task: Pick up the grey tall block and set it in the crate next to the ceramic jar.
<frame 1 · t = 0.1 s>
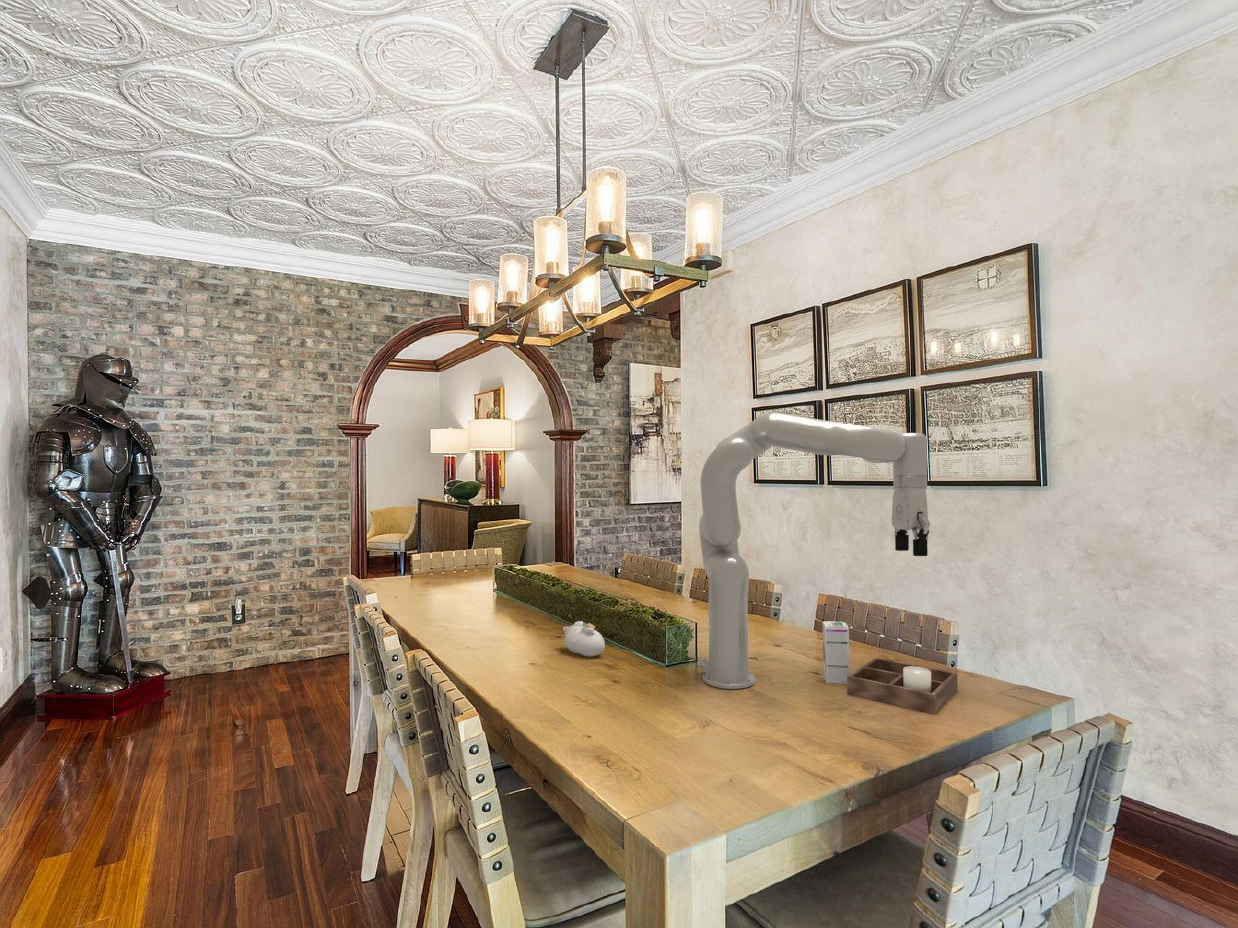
hand: (910, 553, 156), 31 cm above the table, tool pointing down, fingers open, 9 cm apart
crate: (902, 696, 145), on the table
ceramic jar: (917, 702, 139), point 1 cm above the table, touching crate
grey tall block: (836, 684, 154), on the table
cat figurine: (583, 654, 181), on the table
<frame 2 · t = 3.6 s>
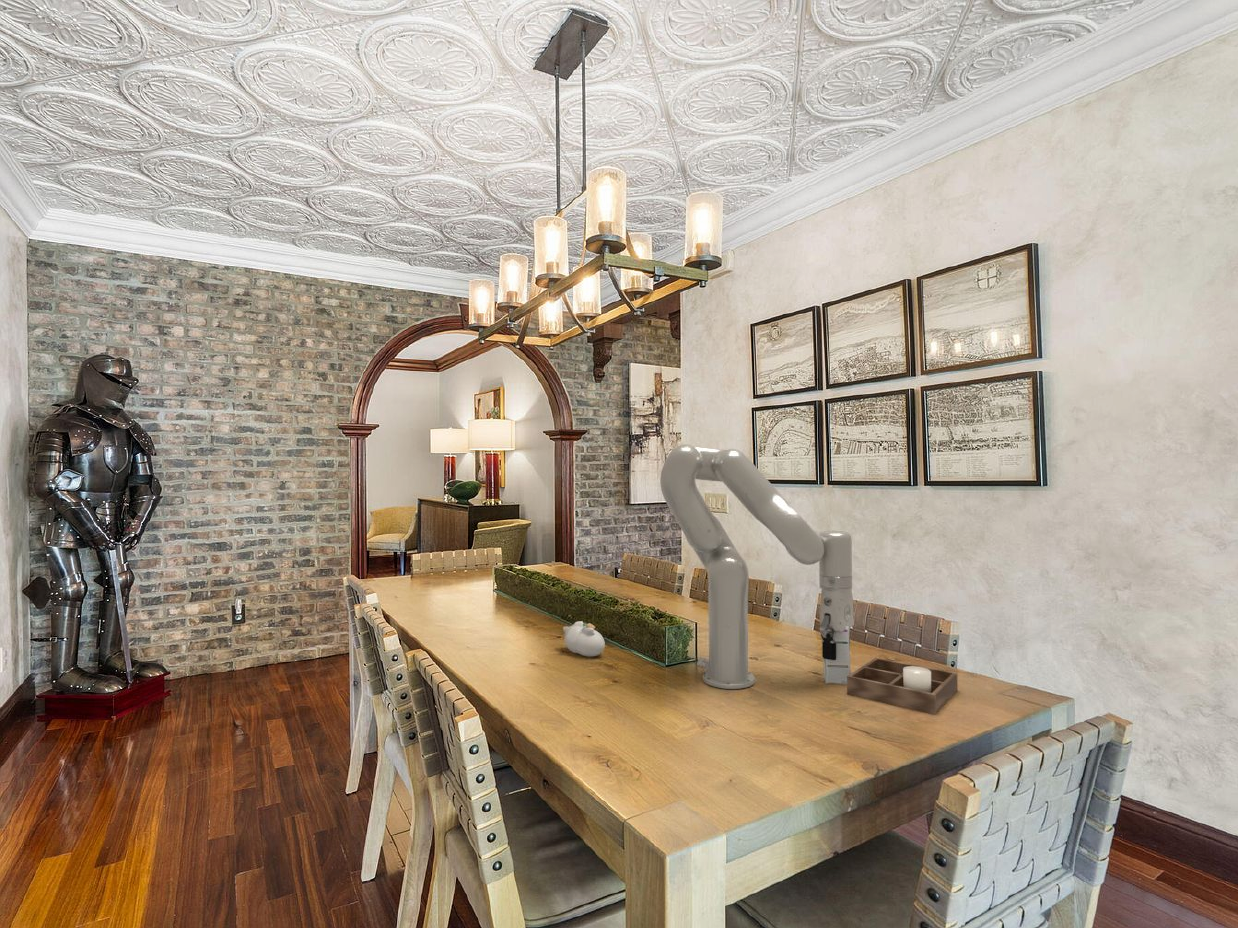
hand: (836, 654, 154), 7 cm above the table, tool pointing down, fingers closed on grey tall block, 7 cm apart
grey tall block: (836, 684, 154), on the table, touching gripper
everything else where it was.
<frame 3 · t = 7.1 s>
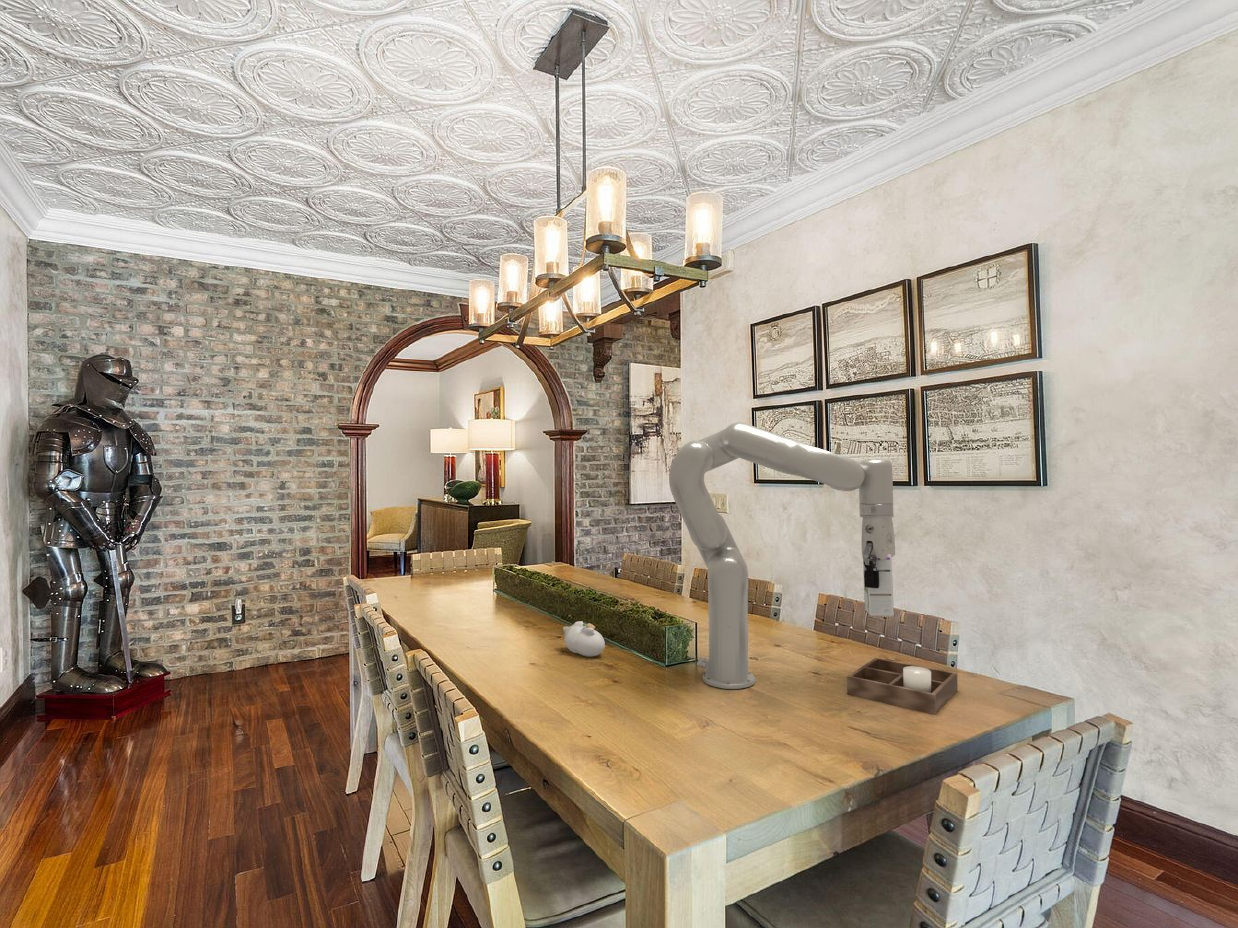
hand: (878, 584, 152), 24 cm above the table, tool pointing down, fingers closed on grey tall block, 7 cm apart
grey tall block: (878, 614, 152), point 17 cm above the table, touching gripper
everything else where it was.
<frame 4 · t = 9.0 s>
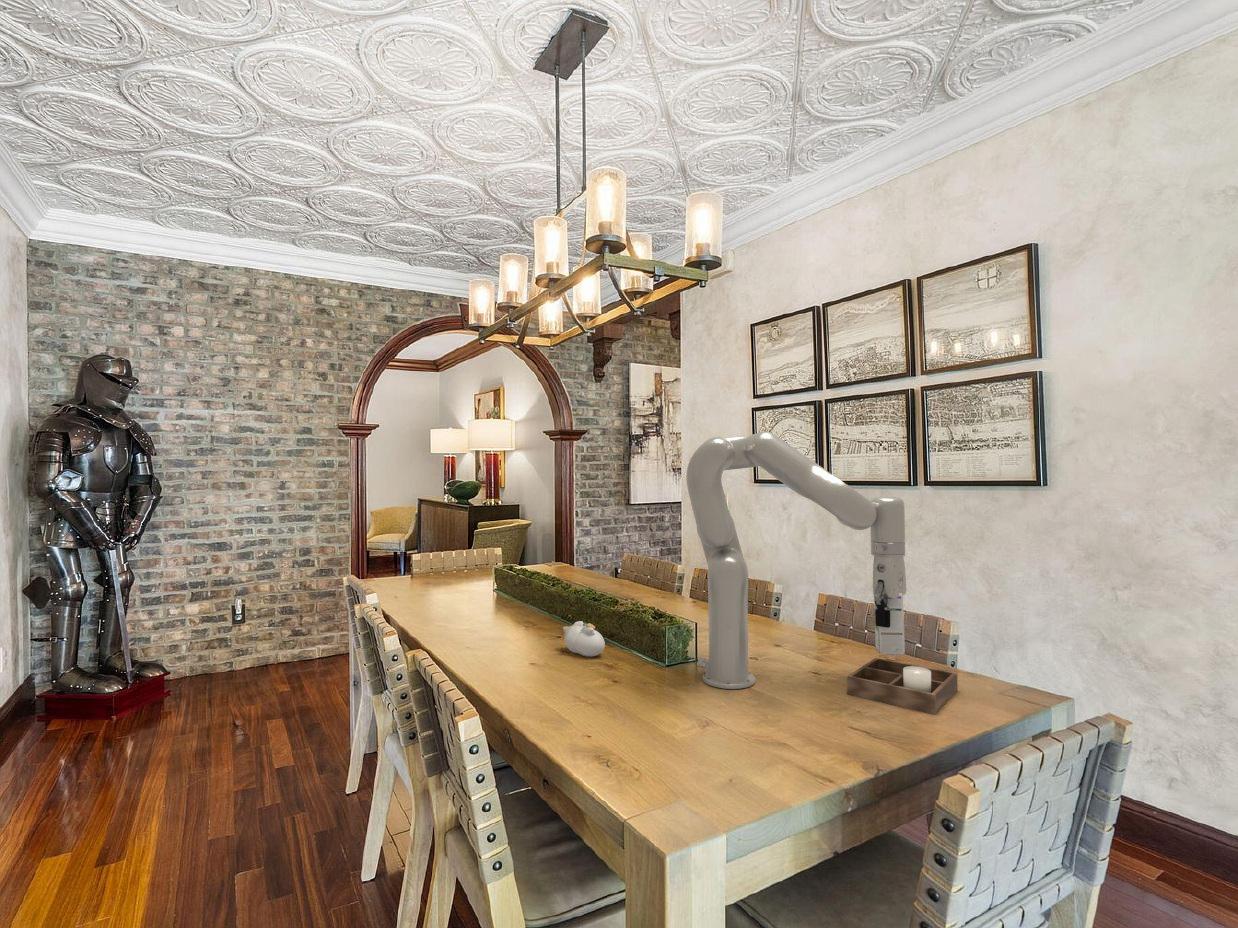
hand: (889, 622, 151), 15 cm above the table, tool pointing down, fingers closed on grey tall block, 7 cm apart
grey tall block: (889, 652, 151), point 8 cm above the table, touching gripper
everything else where it was.
when the fingers open (9 cm above the table, at t = 10.7 s): grey tall block drops 1 cm, resting on crate.
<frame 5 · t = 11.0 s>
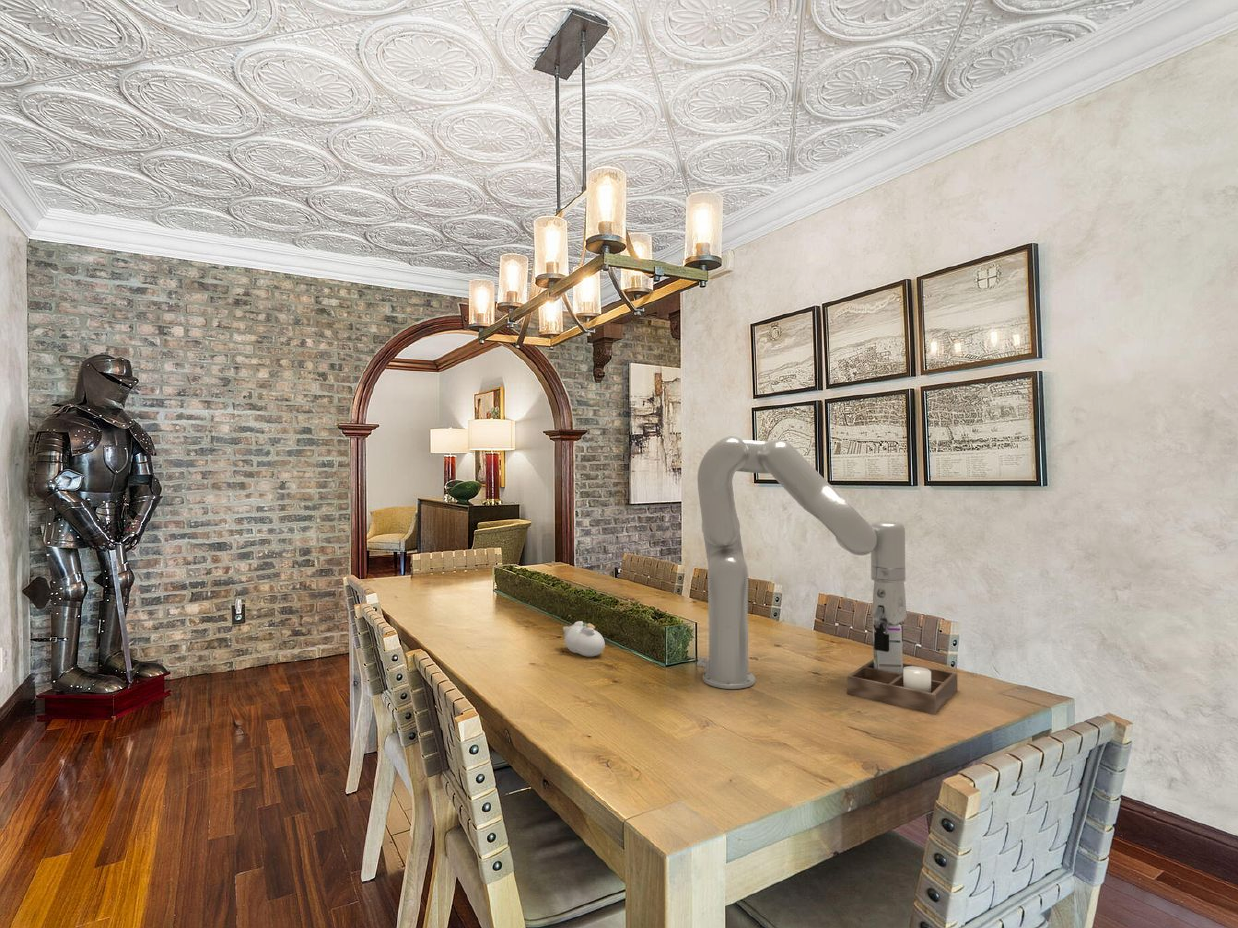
hand: (888, 645, 151), 10 cm above the table, tool pointing down, fingers open, 9 cm apart
grey tall block: (887, 683, 151), point 1 cm above the table, touching crate
everything else where it was.
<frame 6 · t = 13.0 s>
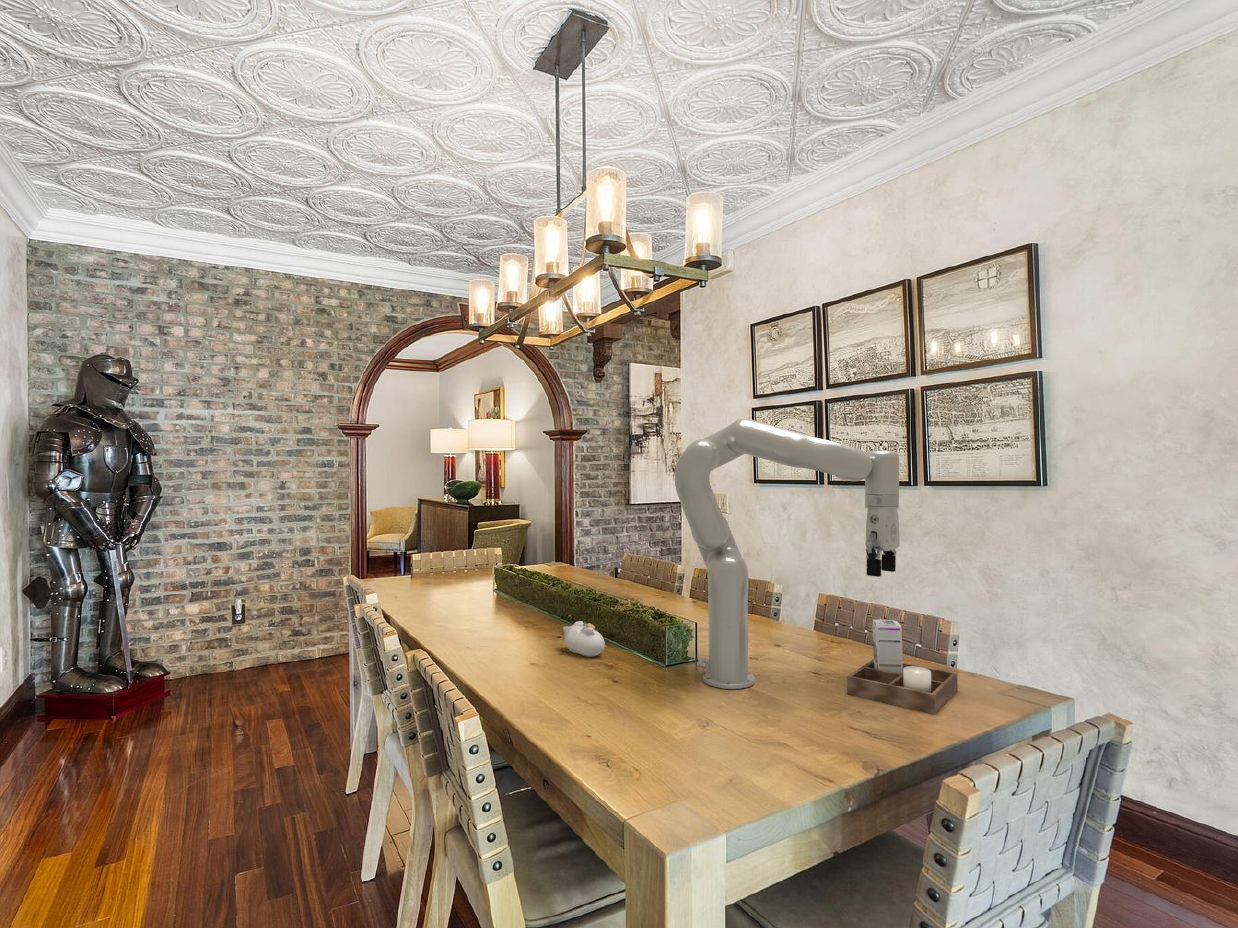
hand: (881, 573, 152), 27 cm above the table, tool pointing down, fingers open, 9 cm apart
nothing on the table moved.
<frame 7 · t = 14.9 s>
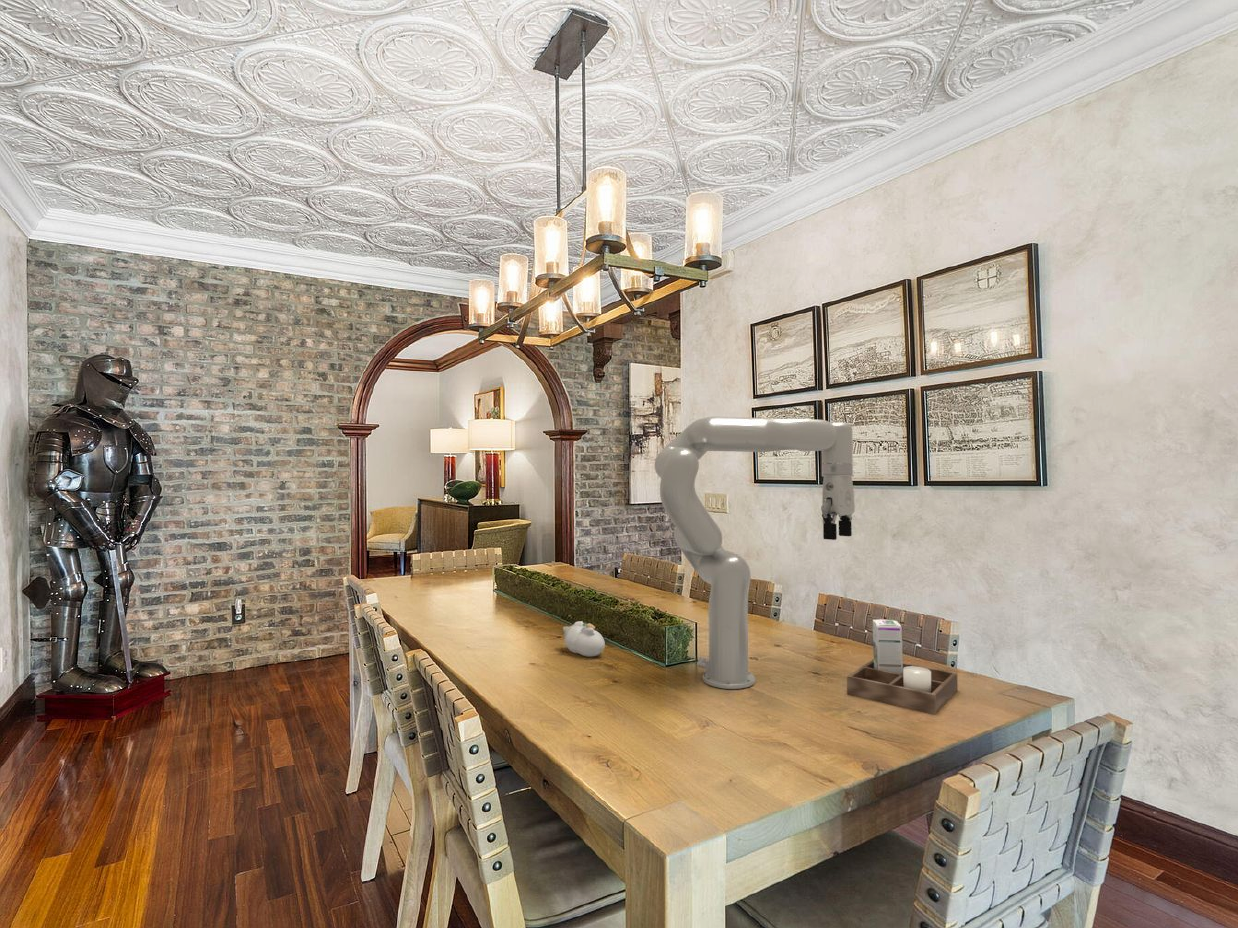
hand: (837, 537, 163), 34 cm above the table, tool pointing down, fingers open, 9 cm apart
nothing on the table moved.
at the end: grey tall block 0.4 cm from the target spot on the crate, point 0.8 cm above the crate's base; grey tall block tilted 0°; the gripper is holding nothing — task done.
